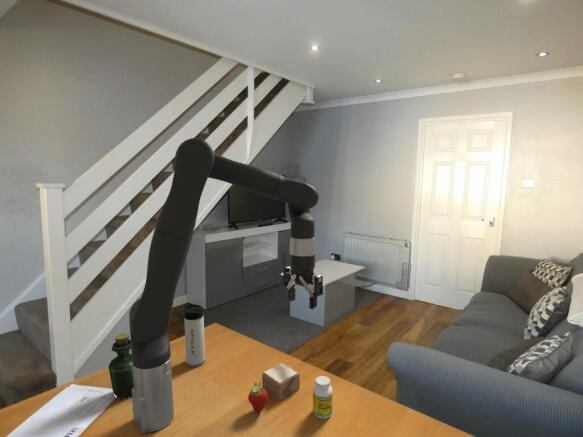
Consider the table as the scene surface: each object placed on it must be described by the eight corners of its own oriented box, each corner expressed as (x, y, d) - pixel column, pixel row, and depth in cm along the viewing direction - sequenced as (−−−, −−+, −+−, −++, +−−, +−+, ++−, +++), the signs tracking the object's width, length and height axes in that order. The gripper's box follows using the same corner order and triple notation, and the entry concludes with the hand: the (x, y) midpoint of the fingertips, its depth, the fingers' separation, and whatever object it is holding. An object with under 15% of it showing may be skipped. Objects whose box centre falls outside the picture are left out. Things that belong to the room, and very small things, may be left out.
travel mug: (196, 355, 123) (194, 301, 120) (208, 361, 119) (207, 306, 116) (181, 362, 118) (179, 307, 115) (194, 369, 114) (191, 312, 111)
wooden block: (279, 401, 99) (279, 384, 98) (262, 388, 104) (262, 372, 104) (299, 389, 104) (299, 372, 103) (282, 377, 110) (282, 362, 109)
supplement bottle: (328, 404, 97) (329, 373, 96) (335, 417, 92) (335, 384, 91) (310, 407, 96) (310, 375, 95) (315, 420, 91) (316, 387, 90)
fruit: (255, 402, 98) (254, 376, 97) (271, 408, 96) (271, 381, 95) (245, 414, 93) (244, 387, 92) (262, 420, 91) (261, 392, 90)
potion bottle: (142, 396, 100) (138, 338, 98) (110, 405, 97) (106, 345, 94) (139, 381, 108) (136, 327, 105) (110, 389, 104) (106, 333, 101)
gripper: (276, 250, 103) (276, 301, 106) (312, 258, 93) (311, 315, 96) (294, 246, 109) (294, 295, 111) (329, 253, 99) (328, 307, 101)
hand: (302, 304), depth 103 cm, fingers open, 8 cm apart
